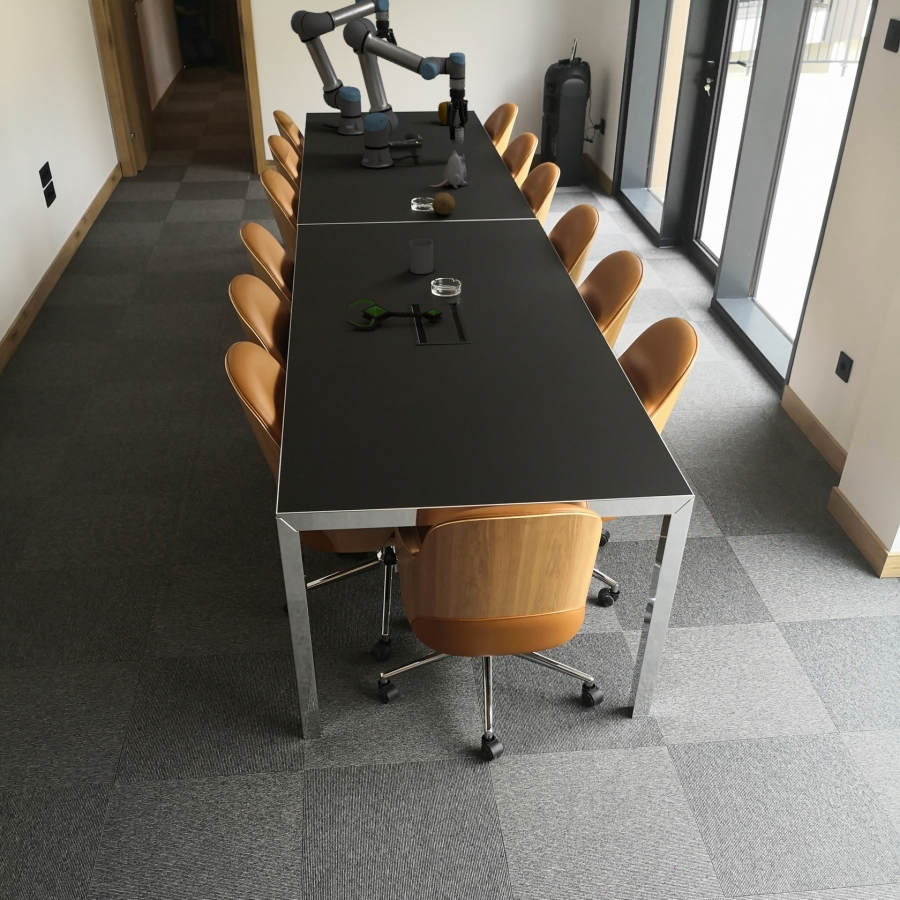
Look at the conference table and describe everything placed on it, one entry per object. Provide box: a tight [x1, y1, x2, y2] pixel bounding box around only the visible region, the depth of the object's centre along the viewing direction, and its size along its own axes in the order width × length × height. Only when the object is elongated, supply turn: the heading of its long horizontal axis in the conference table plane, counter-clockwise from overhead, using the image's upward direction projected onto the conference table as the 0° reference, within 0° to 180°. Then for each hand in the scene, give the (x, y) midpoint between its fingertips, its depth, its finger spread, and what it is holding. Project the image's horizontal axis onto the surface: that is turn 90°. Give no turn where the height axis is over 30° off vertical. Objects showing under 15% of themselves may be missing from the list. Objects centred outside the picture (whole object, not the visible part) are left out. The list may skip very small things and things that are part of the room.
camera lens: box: [450, 125, 465, 145], centre depth 425 cm, size 6×6×8 cm
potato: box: [431, 192, 456, 216], centre depth 360 cm, size 10×14×8 cm
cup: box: [408, 237, 434, 275], centre depth 305 cm, size 8×8×10 cm
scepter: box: [345, 298, 443, 331], centre depth 269 cm, size 6×13×30 cm
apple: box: [437, 100, 458, 126], centre depth 500 cm, size 11×11×13 cm
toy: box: [428, 149, 468, 189], centre depth 390 cm, size 9×24×15 cm, turn 137°
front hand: (457, 138), depth 426 cm, fingers closed on camera lens, 6 cm apart
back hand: (383, 61), depth 494 cm, fingers open, 13 cm apart
